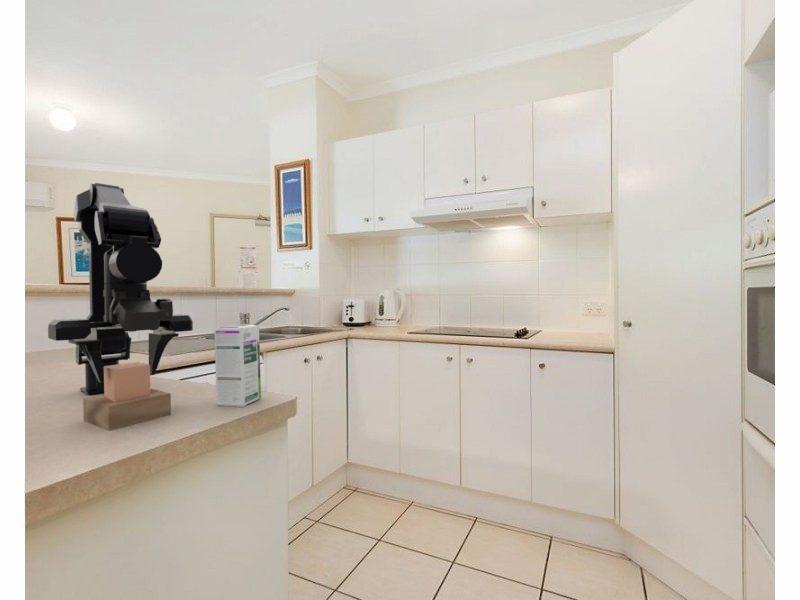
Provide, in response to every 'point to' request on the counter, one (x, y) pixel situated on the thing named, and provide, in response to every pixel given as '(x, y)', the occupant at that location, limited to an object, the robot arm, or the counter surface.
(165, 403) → the walnut block
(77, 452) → the counter surface
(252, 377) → the syrup box
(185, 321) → the robot arm
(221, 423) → the counter surface
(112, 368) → the terracotta cube
